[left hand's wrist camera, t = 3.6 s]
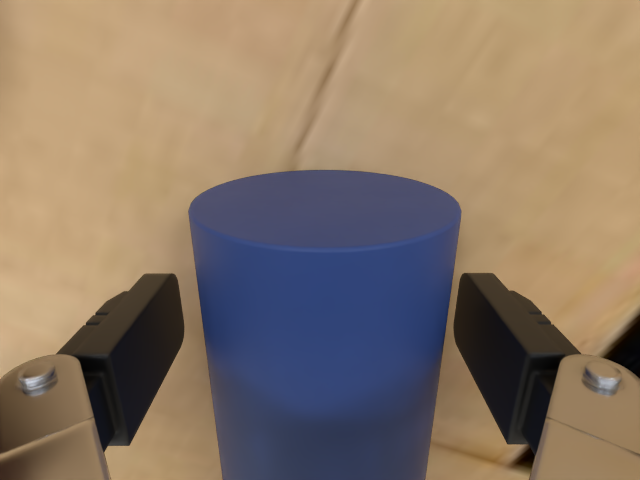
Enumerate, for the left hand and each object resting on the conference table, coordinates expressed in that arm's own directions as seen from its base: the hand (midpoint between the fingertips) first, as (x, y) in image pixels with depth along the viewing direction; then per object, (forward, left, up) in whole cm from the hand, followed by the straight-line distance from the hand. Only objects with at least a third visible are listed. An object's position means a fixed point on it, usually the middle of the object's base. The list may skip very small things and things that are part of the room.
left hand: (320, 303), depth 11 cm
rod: (0, +9, -2) cm, 9 cm away
